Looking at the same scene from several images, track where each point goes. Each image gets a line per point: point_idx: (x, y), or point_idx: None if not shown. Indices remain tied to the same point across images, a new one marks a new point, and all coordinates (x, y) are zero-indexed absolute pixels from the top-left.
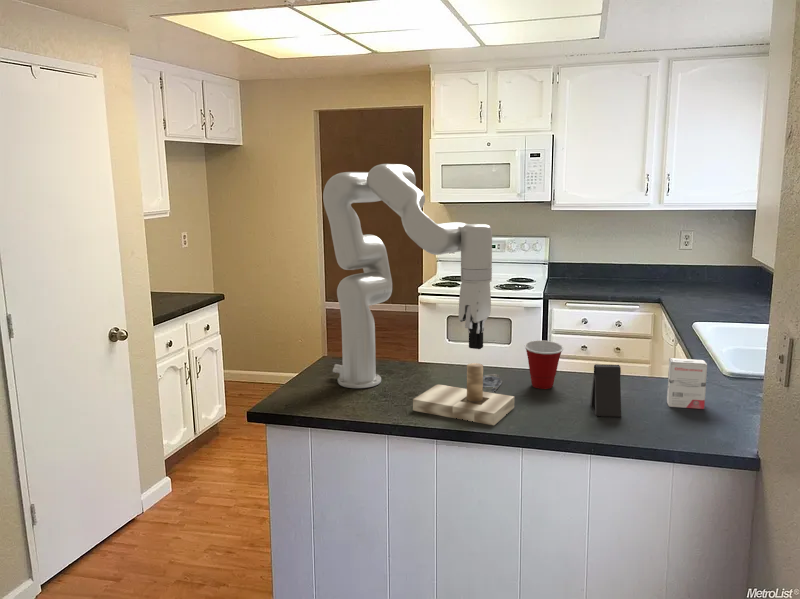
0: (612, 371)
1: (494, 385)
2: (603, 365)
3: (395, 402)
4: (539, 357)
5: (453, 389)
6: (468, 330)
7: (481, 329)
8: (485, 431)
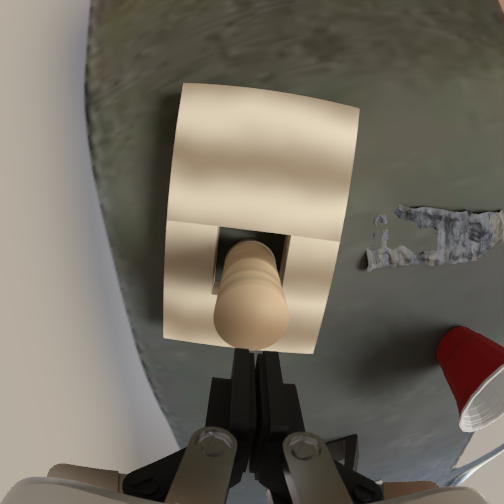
0: None
1: (450, 251)
2: None
3: (239, 27)
4: (464, 395)
5: (326, 172)
6: (188, 446)
7: (268, 492)
8: (130, 311)
